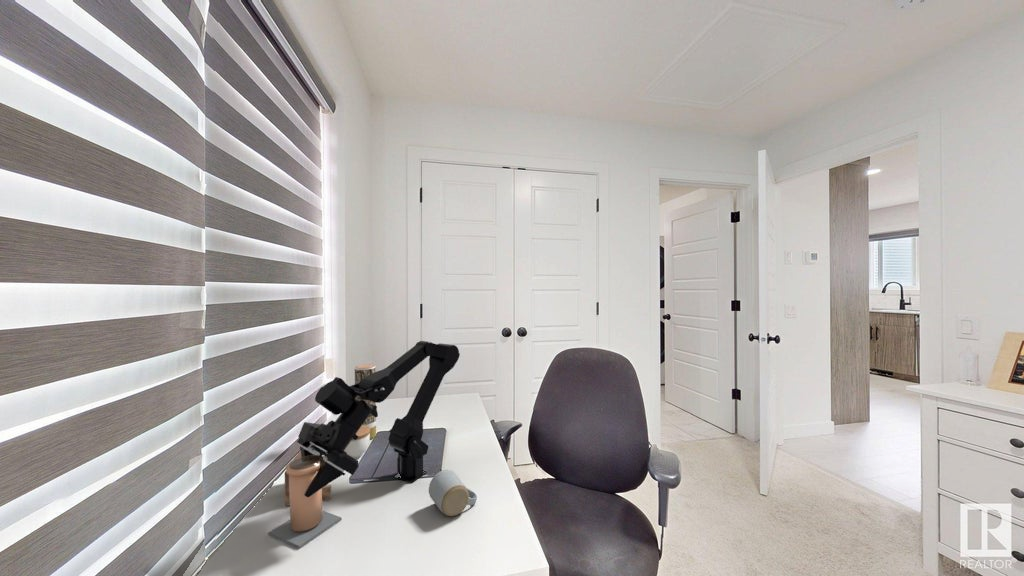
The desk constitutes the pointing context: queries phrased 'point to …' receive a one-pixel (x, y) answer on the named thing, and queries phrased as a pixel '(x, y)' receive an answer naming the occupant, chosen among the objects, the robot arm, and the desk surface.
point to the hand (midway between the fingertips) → (299, 491)
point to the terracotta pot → (301, 507)
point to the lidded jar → (359, 443)
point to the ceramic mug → (450, 493)
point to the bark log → (361, 373)
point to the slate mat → (303, 537)
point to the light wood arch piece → (325, 490)
